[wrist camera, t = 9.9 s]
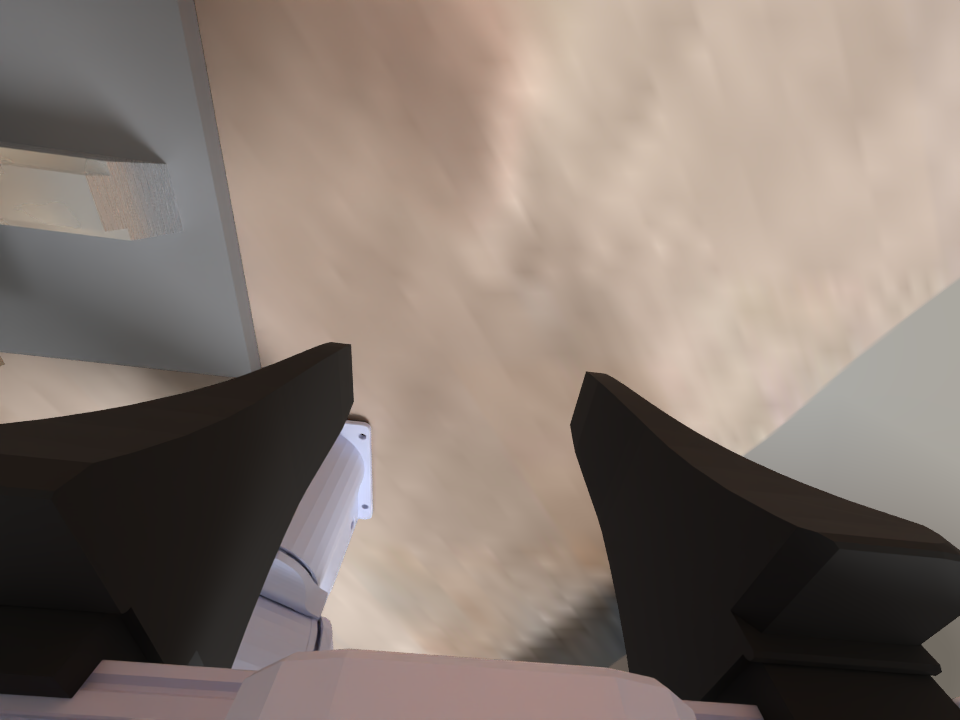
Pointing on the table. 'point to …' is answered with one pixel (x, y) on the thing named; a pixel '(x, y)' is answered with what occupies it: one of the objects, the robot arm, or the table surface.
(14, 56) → the base plate
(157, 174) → the metal ridge
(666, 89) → the table surface
